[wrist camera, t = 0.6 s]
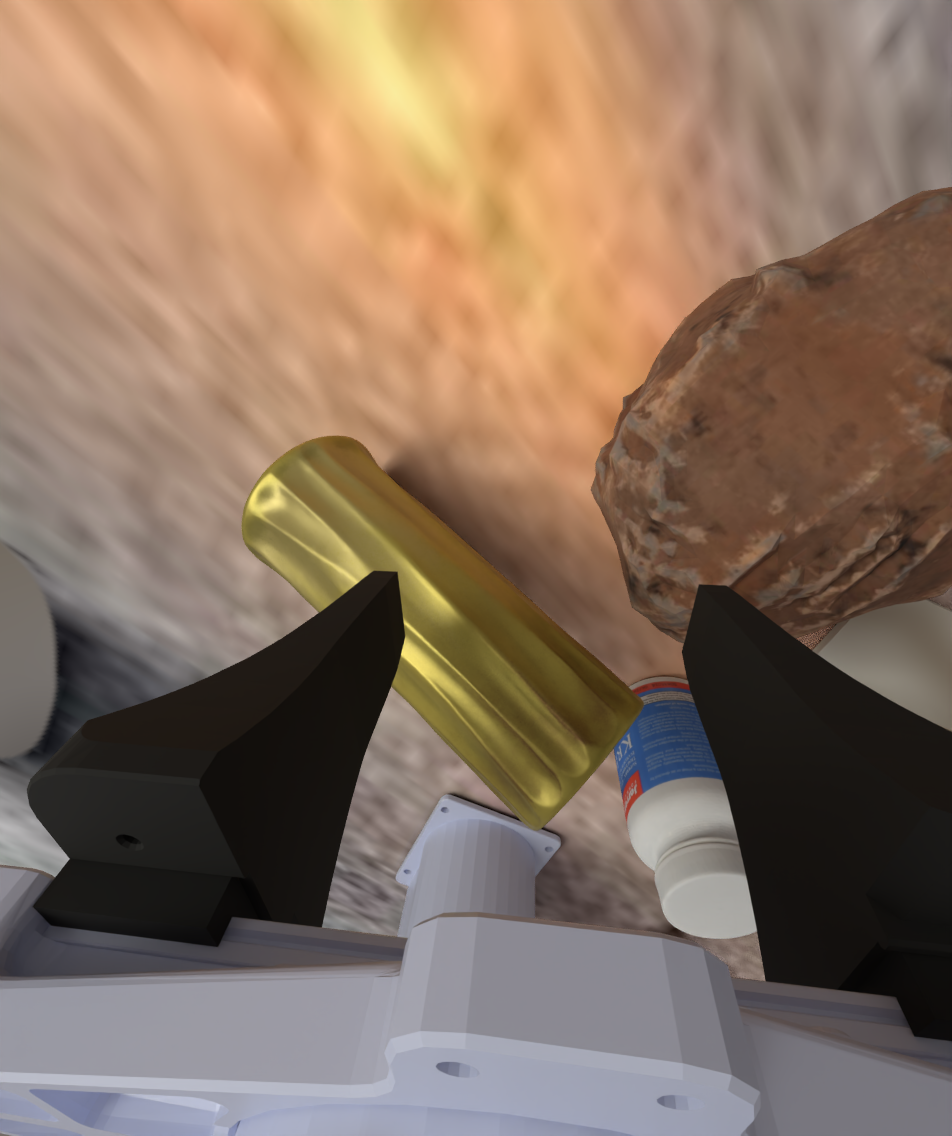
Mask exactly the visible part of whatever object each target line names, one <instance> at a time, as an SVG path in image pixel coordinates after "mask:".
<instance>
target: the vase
mask: <svg viewBox="0 0 952 1136" xmlns="http://www.w3.org/2000/svg"><path fill="white" fill-rule="evenodd" d="M242 535H243V540H244V542H245V545H246V546H247V547H248V549H249V550H250V551H251V552H252V553H253V554H254V555H255V556H256V557H257V558H258V559H259V560H260V561H262V562H263V563H265V564H266V565H267V566H269V567H270V568H271V569H273V570H274V571H276V572H277V573H278V574H279V575H281V576H282V577H283V578H284V579H285V580H287V581H288V582H289V583H290V584H291V585H292V586H293V587H294V588H295V589H296V590H297V591H298V592H299V593H300V594H301V595H302V597H303V598H304V599H305V600H306V601H307V602H309V603H310V604H311V605H312V606H313V607H314V608H315V609H316V610H317V611H318V612H319V613H320V612H321V611H322V610H324V609H325V608H326V607H328V606H329V605H330V604H331V603H333V602H334V601H335V600H337V599H338V598H339V597H340V596H342V595H343V594H344V593H346V592H347V591H348V590H349V589H351V588H352V587H353V586H354V585H356V584H357V583H358V582H359V581H361V580H362V579H363V578H364V577H366V576H367V575H368V574H370V573H371V572H373V571H396V572H398V579H399V587H400V595H401V604H402V612H403V620H404V628H405V640H404V645H403V649H402V653H401V657H400V661H399V665H398V669H397V672H396V675H395V678H394V680H393V683H392V685H391V687H392V688H393V689H394V690H396V691H397V692H398V693H399V694H400V695H401V696H402V697H403V698H404V699H405V700H406V701H407V702H408V703H409V704H410V705H411V706H412V707H413V708H414V709H415V710H416V711H417V712H418V713H419V714H420V715H421V717H422V718H423V719H424V720H425V721H426V722H427V723H428V724H429V725H430V726H431V728H432V729H433V730H434V731H435V732H436V733H437V734H438V735H439V736H440V737H441V739H442V740H443V741H444V742H445V743H446V744H447V745H448V746H449V747H450V748H451V749H452V750H453V751H454V752H455V753H456V754H457V755H458V756H459V757H460V758H461V759H462V760H463V761H464V762H465V763H466V764H467V765H468V766H469V767H470V768H471V770H472V771H473V772H474V773H475V774H476V775H477V776H478V777H479V778H480V779H481V780H482V781H483V782H484V783H485V784H486V785H487V786H488V787H489V789H490V790H491V791H492V792H493V793H494V794H495V795H496V796H497V797H498V798H499V799H500V800H501V801H502V802H503V803H504V804H505V805H506V806H507V807H508V808H509V809H510V810H511V811H512V812H513V813H514V814H515V815H516V816H517V817H518V818H519V819H520V820H521V821H522V822H523V823H524V824H525V825H526V826H528V827H529V828H530V829H532V830H534V831H538V830H540V829H541V828H543V827H544V826H545V825H546V824H547V823H548V822H549V821H550V820H551V819H552V818H553V817H554V816H555V815H556V814H557V813H558V812H559V811H560V810H561V809H562V808H563V807H564V806H565V804H566V803H567V802H568V801H569V800H570V799H571V798H572V797H573V796H574V795H575V794H576V792H577V791H578V790H579V789H580V788H581V787H582V785H583V784H584V783H585V782H586V781H587V780H588V779H589V777H590V776H591V775H592V774H593V773H594V772H595V771H596V769H597V768H598V767H599V766H600V765H601V763H602V762H603V761H604V760H605V758H606V757H607V756H608V755H609V753H610V752H611V751H612V750H613V748H614V747H615V746H616V745H617V743H618V742H619V741H620V740H621V738H622V737H623V736H624V735H625V734H626V732H627V731H628V729H629V728H630V727H631V725H632V724H633V722H634V721H635V720H636V718H637V717H638V716H639V714H640V713H641V711H642V709H643V707H644V702H643V700H642V699H641V698H640V697H639V696H638V695H637V694H635V693H634V692H633V691H632V690H631V689H630V688H629V687H628V686H627V685H626V684H625V683H624V682H622V681H621V680H620V679H619V678H618V677H617V676H616V675H615V674H614V673H613V672H612V671H611V670H609V669H608V668H607V667H606V666H605V665H604V664H603V663H602V662H600V661H599V660H598V659H597V658H596V657H595V656H593V655H592V654H591V653H590V652H589V651H588V650H586V649H585V648H584V647H583V646H582V645H580V644H579V643H578V642H577V641H576V640H574V639H573V638H572V637H571V636H570V635H569V634H567V633H566V632H565V631H564V630H563V629H562V628H561V627H559V626H558V625H557V624H556V623H555V622H554V621H553V620H552V619H550V618H549V617H548V616H547V615H546V614H545V613H544V612H543V611H542V610H541V609H540V608H539V607H538V606H536V605H535V604H534V603H533V602H532V601H531V600H530V599H529V598H528V597H526V596H525V595H524V594H523V593H522V592H521V591H520V590H519V589H517V588H516V587H515V586H514V585H513V584H512V583H511V582H510V581H508V580H507V579H506V578H505V577H504V576H503V575H502V574H501V573H500V572H498V571H497V570H496V569H495V568H494V567H493V566H492V565H491V564H490V563H488V562H487V561H486V560H485V559H484V558H483V557H482V556H481V555H480V554H478V553H477V552H476V551H475V550H474V549H473V548H472V547H470V546H469V545H468V544H467V543H466V542H465V541H464V540H463V539H461V538H460V537H459V536H458V535H457V534H456V533H455V532H454V531H453V530H451V529H450V528H449V527H448V526H447V525H446V524H445V523H444V522H442V521H441V520H440V519H439V518H438V517H437V516H436V515H434V514H433V513H432V512H431V511H430V510H428V509H427V508H426V507H425V506H424V505H423V504H421V503H420V502H419V501H418V500H417V499H415V498H414V497H413V496H412V495H410V494H409V493H408V492H406V491H405V490H404V489H402V488H401V487H400V486H399V485H398V484H397V483H396V482H395V481H394V480H393V479H392V478H391V477H389V476H388V475H387V474H386V473H385V472H384V471H383V470H382V469H381V468H380V467H379V466H378V465H377V463H376V461H375V460H374V458H373V457H372V455H371V453H370V452H369V451H368V450H367V448H366V447H365V446H364V445H363V444H361V443H360V442H359V441H357V440H355V439H353V438H350V437H346V436H325V437H319V438H315V439H312V440H309V441H306V442H304V443H302V444H300V445H298V446H296V447H294V448H292V449H291V450H289V451H288V452H286V453H285V454H284V455H282V456H281V457H280V458H279V459H277V460H276V461H275V462H274V463H273V464H272V465H271V466H270V467H268V469H267V470H266V471H265V472H264V473H263V474H262V476H261V477H260V478H259V480H258V481H257V483H256V484H255V486H254V487H253V489H252V491H251V493H250V495H249V497H248V499H247V501H246V504H245V507H244V511H243V517H242Z"/></svg>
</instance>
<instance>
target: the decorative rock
mask: <svg viewBox="0 0 952 1136" xmlns="http://www.w3.org/2000/svg"><path fill="white" fill-rule="evenodd" d="M591 491H592V494H593V496H594V499H595V500H596V502H597V504H598V505H599V507H600V509H601V511H602V513H603V516H604V518H605V520H606V522H607V525H608V527H609V529H610V531H611V534H612V536H613V538H614V541H615V543H616V545H617V549H618V553H619V557H620V561H621V566H622V570H623V575H624V579H625V582H626V586H627V589H628V593H629V598H630V602H631V606H632V608H634V609H635V610H636V611H638V612H639V613H641V614H642V615H643V616H645V617H646V618H648V619H649V620H650V621H651V623H652V624H653V625H655V626H656V627H657V628H658V629H659V630H660V631H662V632H664V633H665V634H667V635H669V636H670V637H672V638H673V639H675V640H676V641H678V642H681V643H684V642H685V638H686V634H687V630H688V626H689V622H690V618H691V614H692V610H693V606H694V602H695V598H696V594H697V590H698V586H699V584H703V585H726V586H728V587H729V588H731V589H732V590H734V591H735V592H736V593H738V594H739V595H740V596H742V597H743V598H744V599H745V600H747V601H748V602H749V603H750V604H752V605H753V606H754V607H756V608H757V609H758V610H759V611H761V612H762V613H763V614H764V615H766V616H767V617H768V618H769V619H771V620H772V621H773V622H775V623H776V624H777V625H778V626H780V627H781V628H782V629H784V630H785V631H786V632H788V633H789V634H790V635H791V636H793V637H794V638H798V637H801V636H804V635H807V634H810V633H813V632H815V631H818V630H821V629H823V628H826V627H829V626H831V625H834V624H836V623H839V622H842V621H845V620H848V619H851V618H854V617H857V616H860V615H862V614H865V613H868V612H870V611H873V610H876V609H880V608H884V607H888V606H892V605H896V604H905V603H911V602H918V601H923V600H926V599H930V598H933V597H936V596H940V595H943V594H944V593H945V592H946V591H947V590H948V589H949V588H950V587H951V586H952V187H948V188H941V189H937V190H929V191H922V192H920V193H918V194H916V195H913V196H912V197H909V198H907V199H905V200H903V201H901V202H899V203H897V204H895V205H893V206H892V207H890V208H888V209H887V210H885V211H884V212H882V213H880V214H879V215H877V216H876V217H874V218H872V219H870V220H868V221H866V222H864V223H862V224H860V225H858V226H856V227H854V228H852V229H850V230H848V231H846V232H845V233H843V234H841V235H839V236H838V237H836V238H834V239H832V240H831V241H829V242H827V243H825V244H823V245H822V246H820V247H818V248H816V249H814V250H813V251H811V252H809V253H807V254H805V255H802V256H800V257H795V258H789V259H784V260H781V261H778V262H775V263H772V264H770V265H767V266H764V267H761V268H759V269H757V270H756V273H755V275H752V276H748V277H742V278H737V279H731V280H730V281H729V282H727V283H726V284H725V285H724V286H722V287H721V288H720V289H718V290H717V291H716V292H715V293H713V294H712V295H711V296H710V297H709V298H707V299H706V300H705V301H704V302H702V303H701V304H700V305H699V306H698V307H697V308H696V309H695V310H694V311H693V312H692V313H691V314H690V315H688V316H687V317H686V318H685V319H684V320H683V321H682V322H681V324H680V325H679V326H678V328H677V329H676V330H675V332H674V333H673V335H672V336H671V338H670V339H669V341H668V342H667V343H666V345H665V346H664V347H663V348H662V350H661V351H660V353H659V355H658V356H657V358H656V360H655V362H654V363H653V365H652V368H651V370H650V372H649V374H648V376H647V379H646V381H645V382H644V384H643V385H641V386H640V387H639V388H638V389H636V390H635V391H634V392H633V393H632V394H630V395H628V396H626V397H623V410H622V411H621V413H620V415H619V418H618V421H617V423H616V426H615V429H614V436H613V439H612V440H611V441H610V442H609V443H608V444H606V445H605V446H603V447H602V448H601V451H600V454H599V456H598V459H597V461H596V477H595V479H594V482H593V485H592V487H591Z"/></svg>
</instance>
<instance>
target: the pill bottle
mask: <svg viewBox="0 0 952 1136" xmlns="http://www.w3.org/2000/svg"><path fill="white" fill-rule="evenodd" d="M629 688H630V689H631V690H632V691H633V692H634V693H635V694H637V695H638V696H639V697H640V698H641V699H642V700H643V702H644V707H643V709H642V711H641V713H640V714H639V716H638V717H637V718H636V720H635V721H634V722H633V724H632V725H631V727H630V728H629V729H628V731H627V732H626V734H625V735H624V736H623V737H622V738H621V740H620V741H619V742H618V743H617V745H616V746H615V747H614V753H615V759H616V764H617V770H618V775H619V781H620V787H621V793H622V798H623V804H624V810H625V817H626V822H627V827H628V831H629V836H630V840H631V843H632V846H633V848H634V850H635V852H636V853H637V855H638V856H639V858H640V859H641V860H642V861H643V862H644V863H645V864H646V865H647V866H648V867H649V868H651V869H652V870H653V871H655V884H656V887H657V890H658V894H659V898H660V902H661V906H662V910H663V913H664V915H665V917H666V918H667V920H668V921H669V922H670V923H671V924H672V925H673V926H675V927H676V928H678V929H679V930H681V931H683V932H685V933H688V934H691V935H694V936H697V937H703V938H712V939H728V938H736V937H741V936H745V935H749V934H751V933H754V932H756V931H757V928H756V923H755V918H754V913H753V908H752V903H751V898H750V893H749V888H748V883H747V878H746V874H745V869H744V865H743V860H742V856H741V851H740V847H739V842H738V838H737V833H736V829H735V825H734V821H733V817H732V813H731V809H730V805H729V801H728V797H727V793H726V790H725V787H724V784H723V780H722V777H721V774H720V771H719V769H718V766H717V763H716V760H715V758H714V755H713V752H712V750H711V747H710V744H709V741H708V739H707V736H706V733H705V731H704V728H703V725H702V722H701V720H700V717H699V714H698V711H697V709H696V706H695V703H694V700H693V697H692V694H691V691H690V688H689V684H688V680H685V679H681V678H676V677H653V678H648V679H644V680H642V681H639V682H637V683H635V684H633V685H631V686H629Z"/></svg>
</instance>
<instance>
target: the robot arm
mask: <svg viewBox="0 0 952 1136" xmlns="http://www.w3.org/2000/svg"><path fill="white" fill-rule="evenodd" d="M404 640H405V628H404V620H403V612H402V604H401V595H400V587H399V579H398V572H396V571H373V572H371V573H370V574H368V575H367V576H366V577H364V578H363V579H362V580H361V581H359V582H358V583H357V584H356V585H354V586H353V587H352V588H351V589H349V590H348V591H347V592H346V593H344V594H343V595H342V596H340V597H339V598H338V599H337V600H335V601H334V602H333V603H331V604H330V605H329V606H328V607H326V608H325V609H324V610H322V611H321V612H320V613H318V614H317V615H315V616H314V617H312V618H311V619H310V620H308V621H307V622H305V623H304V624H302V625H301V626H300V627H298V628H297V629H295V630H294V631H292V632H291V633H289V634H288V635H286V636H285V637H283V638H282V639H280V640H278V641H277V642H275V643H273V644H272V645H270V646H268V647H266V648H265V649H263V650H261V651H259V652H258V653H256V654H254V655H252V656H251V657H249V658H247V659H245V660H243V661H241V662H239V663H237V664H235V665H232V666H230V667H228V668H226V669H224V670H222V671H220V672H218V673H216V674H214V675H212V676H210V677H208V678H205V679H203V680H201V681H198V682H196V683H194V684H191V685H189V686H186V687H184V688H182V689H179V690H176V691H174V692H171V693H169V694H166V695H163V696H161V697H158V698H155V699H153V700H150V701H147V702H144V703H141V704H138V705H135V706H132V707H129V708H126V709H123V710H119V711H116V712H113V713H110V714H107V715H104V716H101V717H97V718H94V719H91V720H88V721H87V722H86V723H85V724H84V725H83V726H82V727H81V728H80V729H79V730H78V731H77V732H76V733H75V734H74V735H73V736H72V737H71V738H70V739H69V740H68V741H67V742H66V743H65V744H64V745H63V746H62V747H61V748H60V749H59V750H58V752H57V753H56V754H55V755H54V756H53V757H52V758H51V759H50V760H49V761H48V762H47V763H46V764H45V765H44V766H43V767H42V768H41V769H40V770H39V771H38V772H37V773H36V774H35V775H34V776H33V777H32V778H31V779H30V782H29V785H28V788H27V794H28V799H29V804H30V807H31V809H32V810H33V812H34V814H35V815H36V817H37V818H38V820H39V821H40V822H41V823H42V825H43V826H44V827H45V828H46V830H47V831H48V832H49V833H50V835H51V836H52V837H53V838H54V840H55V841H56V842H57V843H58V845H59V846H60V847H61V848H62V850H63V851H64V852H65V853H66V854H67V856H68V857H69V858H70V859H69V861H68V862H67V863H66V865H65V866H64V867H63V868H62V870H61V871H60V872H59V874H58V875H57V876H56V877H53V876H52V875H50V874H48V873H46V872H44V871H41V870H37V869H33V868H24V867H16V866H7V865H0V1133H3V1134H7V1135H12V1136H952V732H951V731H949V730H947V729H945V728H943V727H941V726H939V725H937V724H935V723H933V722H931V721H929V720H927V719H925V718H923V717H921V716H919V715H917V714H915V713H913V712H911V711H910V710H908V709H906V708H904V707H902V706H900V705H898V704H897V703H895V702H893V701H891V700H889V699H888V698H886V697H884V696H882V695H881V694H879V693H877V692H876V691H874V690H872V689H871V688H869V687H867V686H866V685H864V684H862V683H861V682H859V681H857V680H855V679H854V678H852V677H851V676H849V675H848V674H846V673H844V672H843V671H841V670H840V669H838V668H837V667H835V666H834V665H832V664H831V663H829V662H828V661H826V660H825V659H824V658H822V657H821V656H819V655H818V654H816V653H815V652H813V651H812V650H811V649H809V648H808V647H806V646H805V645H804V644H802V643H801V642H800V641H798V640H797V639H795V638H794V637H793V636H791V635H790V634H789V633H788V632H786V631H785V630H784V629H782V628H781V627H780V626H778V625H777V624H776V623H775V622H773V621H772V620H771V619H769V618H768V617H767V616H766V615H764V614H763V613H762V612H761V611H759V610H758V609H757V608H756V607H754V606H753V605H752V604H750V603H749V602H748V601H747V600H745V599H744V598H743V597H742V596H740V595H739V594H738V593H736V592H735V591H734V590H732V589H731V588H729V587H728V586H726V585H703V584H699V586H698V590H697V594H696V598H695V602H694V606H693V610H692V614H691V618H690V622H689V626H688V630H687V634H686V638H685V642H684V646H683V650H682V654H683V660H684V665H685V670H686V675H687V679H688V684H689V688H690V691H691V694H692V697H693V700H694V703H695V706H696V709H697V711H698V714H699V717H700V720H701V722H702V725H703V728H704V731H705V733H706V736H707V739H708V741H709V744H710V747H711V750H712V752H713V755H714V758H715V760H716V763H717V766H718V769H719V771H720V774H721V777H722V780H723V784H724V787H725V790H726V793H727V797H728V801H729V805H730V809H731V813H732V817H733V821H734V825H735V829H736V833H737V838H738V842H739V847H740V851H741V856H742V860H743V865H744V869H745V874H746V878H747V883H748V888H749V893H750V898H751V903H752V908H753V913H754V918H755V923H756V928H757V933H758V939H759V944H760V950H761V956H762V962H763V968H764V974H765V980H766V981H758V980H750V979H742V978H734V977H730V973H729V969H728V965H726V964H725V963H724V962H723V961H721V960H720V959H719V958H718V957H716V956H715V955H713V954H712V953H711V952H709V951H708V950H706V949H705V948H703V947H702V946H701V945H699V944H698V943H696V942H695V941H691V940H687V939H683V938H679V937H675V936H671V935H667V934H663V933H659V932H651V931H642V930H633V929H624V928H615V927H607V926H598V925H589V924H580V923H571V922H563V921H554V920H545V919H536V918H535V877H536V875H537V874H538V873H539V872H540V870H541V869H542V868H543V867H544V866H545V864H546V863H547V862H548V861H549V860H550V858H551V857H552V856H553V855H554V853H555V852H556V851H557V850H558V849H559V847H560V846H561V840H560V837H559V836H557V835H555V834H553V833H550V832H547V831H545V830H542V829H540V830H538V831H534V830H532V829H530V828H529V827H528V826H526V825H525V824H524V823H523V822H521V821H518V820H516V819H513V818H510V817H508V816H505V815H503V814H500V813H497V812H495V811H492V810H489V809H487V808H484V807H482V806H479V805H476V804H474V803H471V802H468V801H466V800H463V799H460V798H458V797H455V796H453V795H444V796H442V797H441V799H440V800H439V802H438V804H437V806H436V807H435V809H434V811H433V812H432V814H431V816H430V817H429V819H428V821H427V823H426V824H425V826H424V828H423V829H422V831H421V833H420V834H419V836H418V838H417V840H416V841H415V843H414V845H413V846H412V848H411V850H410V851H409V853H408V855H407V856H406V858H405V860H404V862H403V863H402V865H401V867H400V868H399V870H398V872H397V875H396V880H397V881H398V882H399V883H401V884H404V885H407V886H408V890H407V895H406V899H405V904H404V908H403V913H402V917H401V922H400V926H399V931H398V935H397V937H395V936H387V935H379V934H371V933H362V932H354V931H346V930H338V929H329V928H322V924H323V919H324V914H325V910H326V905H327V900H328V895H329V891H330V886H331V882H332V878H333V873H334V869H335V865H336V861H337V856H338V852H339V848H340V843H341V839H342V835H343V832H344V828H345V824H346V820H347V816H348V812H349V808H350V804H351V800H352V797H353V793H354V789H355V786H356V782H357V779H358V775H359V771H360V768H361V764H362V761H363V758H364V755H365V752H366V749H367V746H368V744H369V741H370V739H371V736H372V734H373V731H374V729H375V726H376V723H377V721H378V718H379V716H380V713H381V711H382V708H383V706H384V703H385V701H386V698H387V696H388V693H389V691H390V688H391V685H392V683H393V680H394V678H395V675H396V672H397V669H398V665H399V661H400V657H401V653H402V649H403V645H404Z"/></svg>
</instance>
